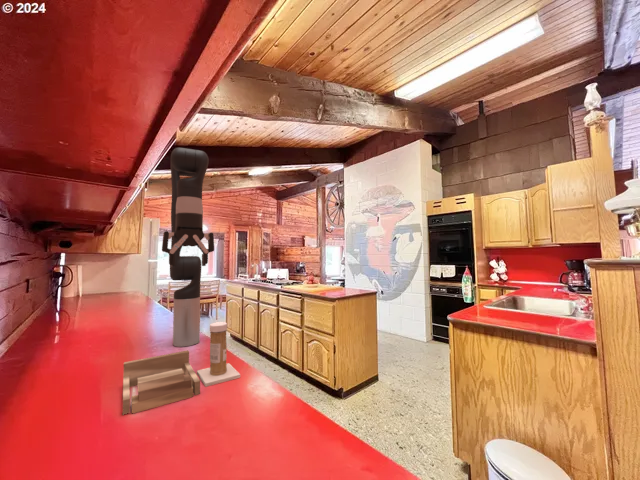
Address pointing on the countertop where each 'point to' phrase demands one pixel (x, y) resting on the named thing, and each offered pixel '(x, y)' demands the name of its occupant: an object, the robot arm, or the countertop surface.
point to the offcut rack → (159, 381)
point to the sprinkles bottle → (218, 348)
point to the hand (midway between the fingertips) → (188, 266)
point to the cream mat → (217, 376)
